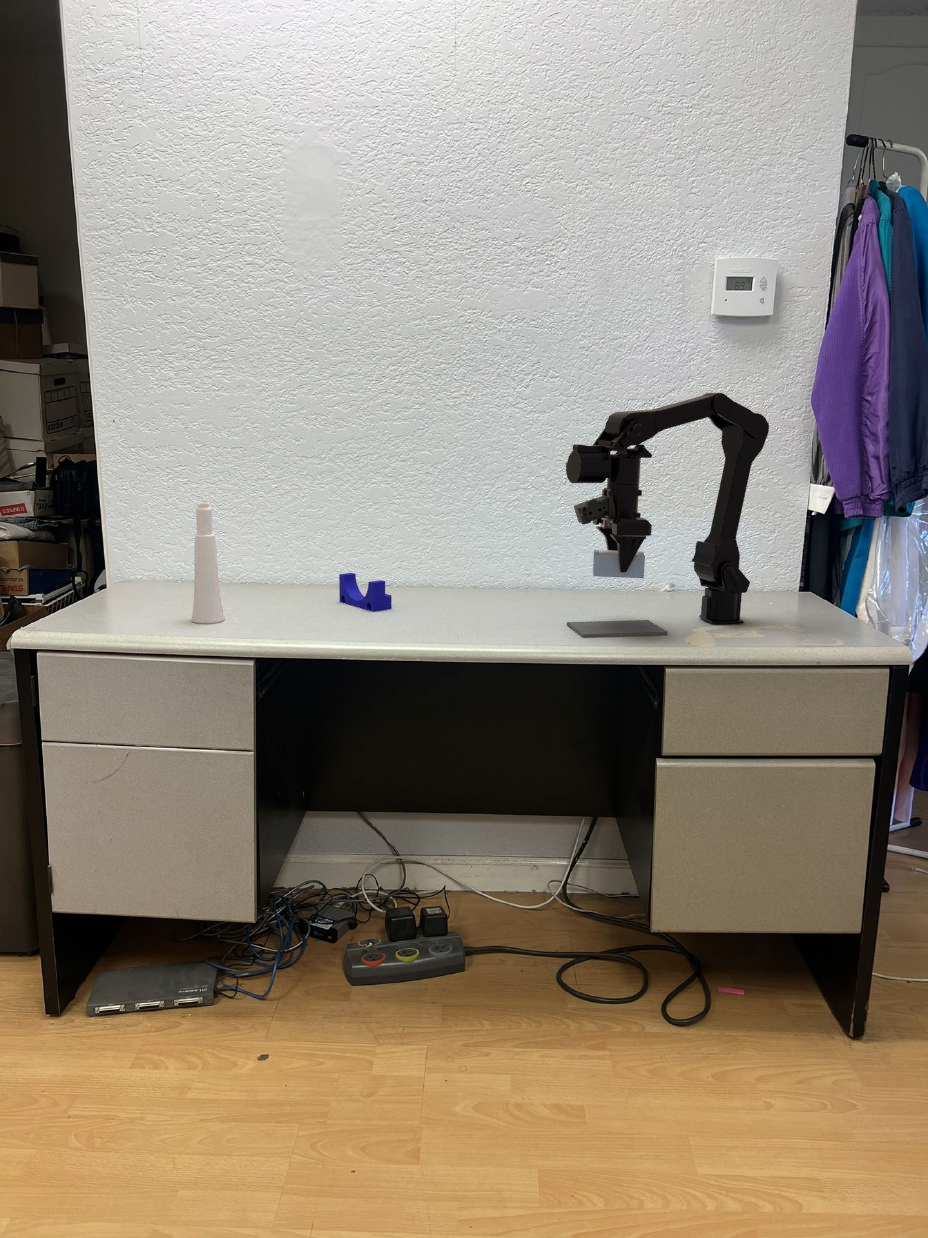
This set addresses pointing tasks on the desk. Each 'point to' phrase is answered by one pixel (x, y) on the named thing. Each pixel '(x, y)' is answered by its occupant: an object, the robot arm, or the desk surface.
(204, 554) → the cosmetic bottle
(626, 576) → the card deck
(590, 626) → the mat
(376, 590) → the cable clip
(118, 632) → the desk surface
